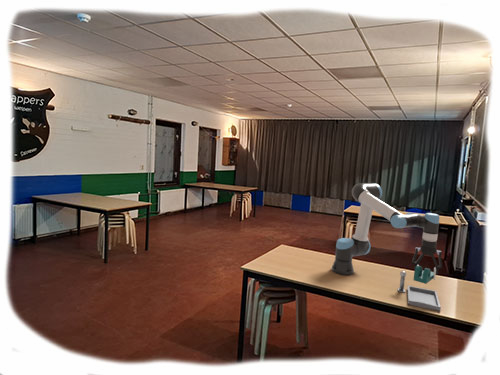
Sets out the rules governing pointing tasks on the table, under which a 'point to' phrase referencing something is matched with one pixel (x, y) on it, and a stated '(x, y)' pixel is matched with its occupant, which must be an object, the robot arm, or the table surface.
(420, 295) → the bin
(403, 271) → the ball stud
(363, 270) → the table surface
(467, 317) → the table surface
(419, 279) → the bracket
